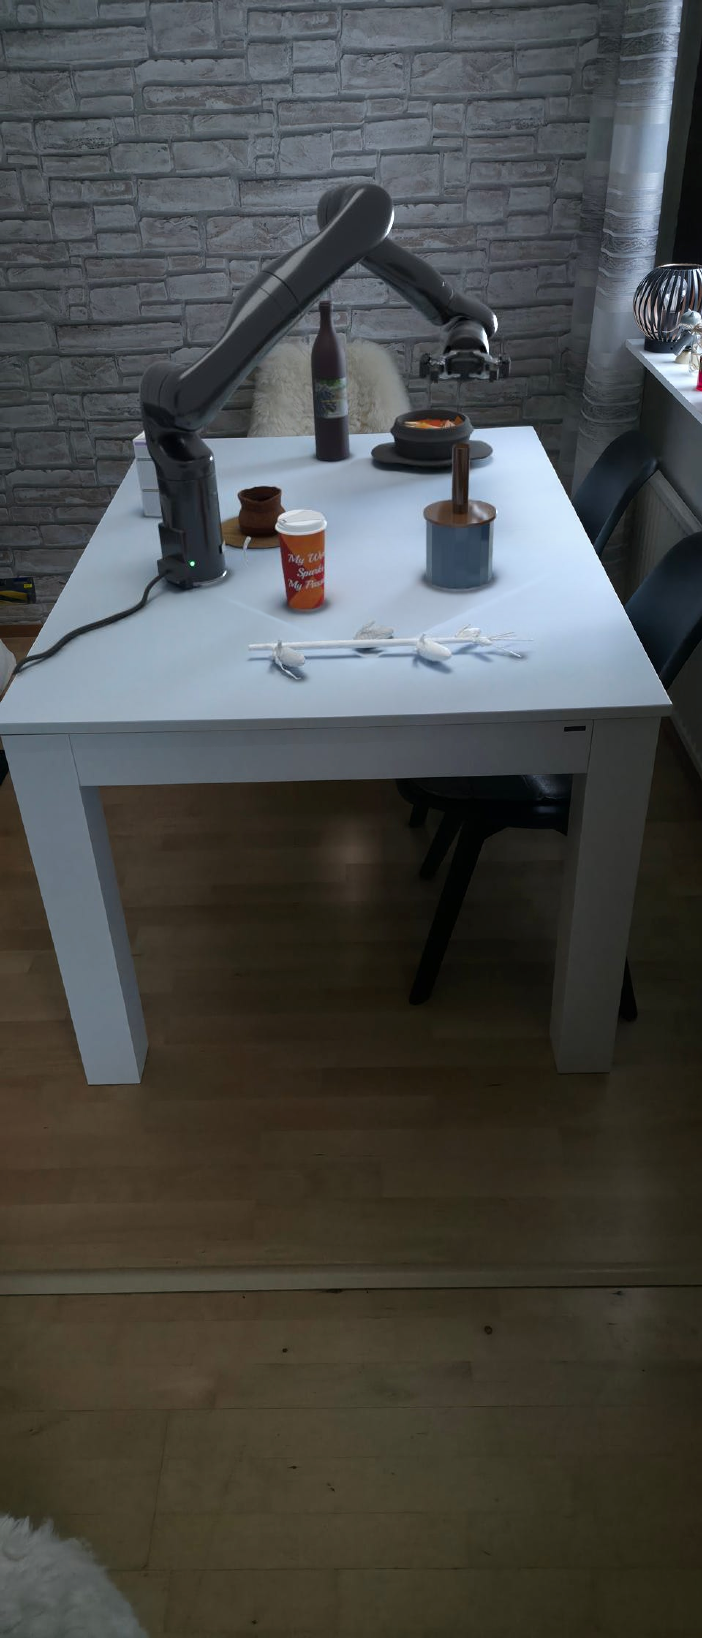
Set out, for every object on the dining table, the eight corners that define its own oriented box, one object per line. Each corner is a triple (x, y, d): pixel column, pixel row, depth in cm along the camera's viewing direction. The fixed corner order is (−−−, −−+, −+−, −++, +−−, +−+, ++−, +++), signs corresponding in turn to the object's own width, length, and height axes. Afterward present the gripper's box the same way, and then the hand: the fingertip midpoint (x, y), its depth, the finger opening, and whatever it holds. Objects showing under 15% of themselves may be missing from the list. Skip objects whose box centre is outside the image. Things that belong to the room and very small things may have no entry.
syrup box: (173, 517, 208) (163, 438, 200) (143, 516, 209) (131, 438, 201) (183, 507, 213) (173, 429, 204) (153, 506, 214) (142, 428, 205)
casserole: (488, 445, 238) (489, 404, 233) (497, 472, 223) (498, 429, 218) (370, 449, 239) (369, 408, 234) (371, 477, 223) (370, 434, 219)
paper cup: (294, 619, 169) (287, 530, 161) (273, 602, 175) (266, 514, 167) (340, 608, 172) (336, 519, 164) (318, 591, 178) (313, 504, 170)
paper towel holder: (463, 537, 167) (464, 462, 161) (407, 520, 174) (407, 447, 168) (511, 517, 174) (515, 444, 167) (456, 501, 181) (457, 430, 174)
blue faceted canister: (461, 597, 173) (463, 532, 168) (412, 580, 180) (412, 516, 174) (504, 577, 179) (507, 513, 173) (455, 561, 186) (456, 499, 180)
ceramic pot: (253, 557, 191) (249, 516, 187) (194, 531, 202) (189, 492, 198) (333, 529, 200) (332, 490, 196) (272, 506, 211) (270, 469, 207)
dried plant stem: (245, 681, 153) (539, 671, 152) (233, 543, 145) (543, 531, 144) (253, 655, 164) (528, 646, 162) (243, 525, 156) (532, 514, 154)
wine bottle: (313, 461, 233) (304, 305, 216) (319, 451, 239) (311, 298, 222) (346, 462, 232) (340, 305, 215) (352, 451, 238) (346, 298, 221)
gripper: (422, 329, 184) (417, 351, 171) (510, 328, 183) (511, 350, 169) (422, 377, 188) (417, 402, 175) (508, 376, 187) (509, 401, 174)
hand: (463, 376), depth 172 cm, fingers open, 8 cm apart
